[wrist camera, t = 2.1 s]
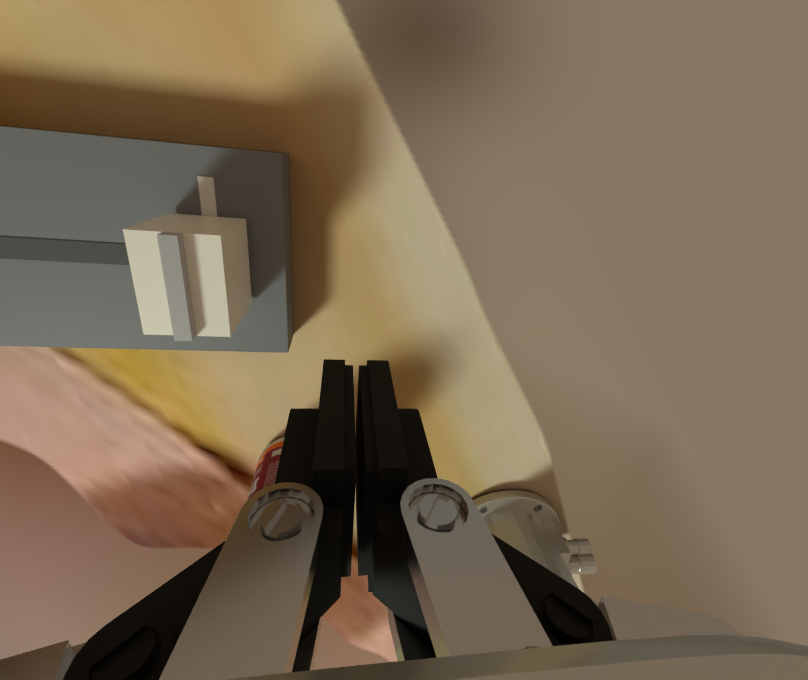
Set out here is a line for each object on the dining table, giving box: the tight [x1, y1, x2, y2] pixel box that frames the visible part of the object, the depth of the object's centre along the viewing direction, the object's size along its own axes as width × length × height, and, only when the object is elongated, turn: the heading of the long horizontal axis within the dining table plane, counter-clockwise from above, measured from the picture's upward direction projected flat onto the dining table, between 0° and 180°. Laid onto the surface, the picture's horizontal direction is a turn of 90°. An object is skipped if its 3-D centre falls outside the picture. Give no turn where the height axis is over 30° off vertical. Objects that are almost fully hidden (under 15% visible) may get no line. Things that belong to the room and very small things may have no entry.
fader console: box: [0, 125, 294, 353], centre depth 24 cm, size 22×12×3 cm, turn 84°
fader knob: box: [123, 213, 252, 341], centre depth 21 cm, size 4×5×6 cm
